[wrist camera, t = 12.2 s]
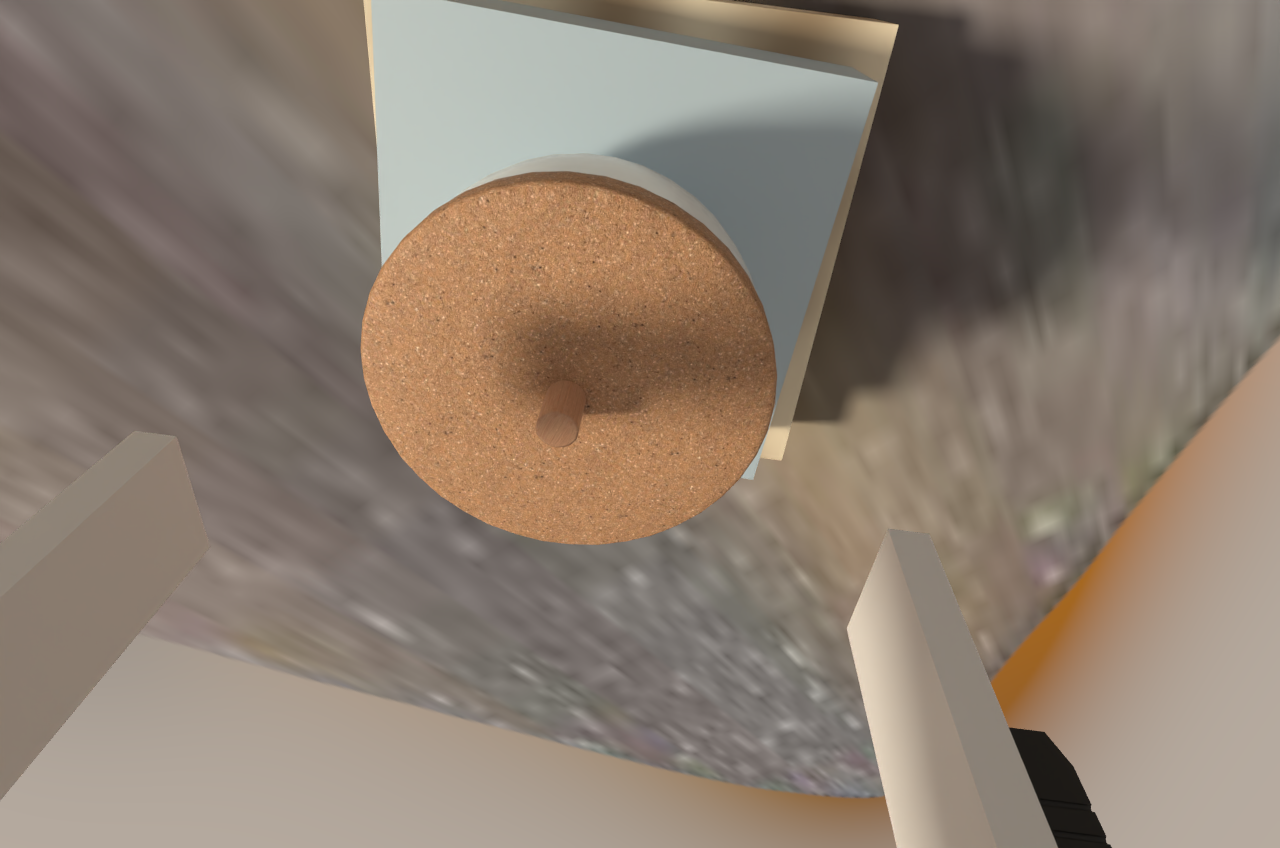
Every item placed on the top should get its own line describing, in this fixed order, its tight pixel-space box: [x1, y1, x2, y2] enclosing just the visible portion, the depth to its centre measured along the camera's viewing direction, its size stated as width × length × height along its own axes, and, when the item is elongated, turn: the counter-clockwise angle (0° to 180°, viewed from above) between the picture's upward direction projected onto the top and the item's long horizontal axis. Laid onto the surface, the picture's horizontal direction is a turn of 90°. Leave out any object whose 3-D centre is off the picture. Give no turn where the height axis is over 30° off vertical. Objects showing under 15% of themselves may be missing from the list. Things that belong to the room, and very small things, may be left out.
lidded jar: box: [361, 153, 777, 545], centre depth 21 cm, size 11×11×9 cm
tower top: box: [371, 0, 878, 480], centre depth 26 cm, size 15×15×4 cm
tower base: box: [364, 0, 899, 460], centre depth 30 cm, size 18×18×4 cm
